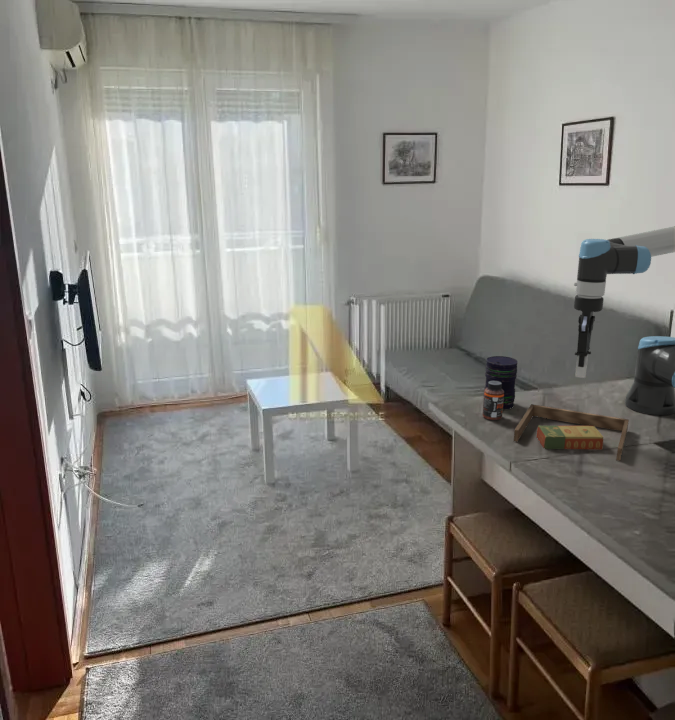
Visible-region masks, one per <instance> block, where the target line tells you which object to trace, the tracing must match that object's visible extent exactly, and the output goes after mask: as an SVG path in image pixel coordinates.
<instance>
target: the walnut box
mask: <svg viewBox="0 0 675 720" xmlns="http://www.w3.org/2000/svg"><path fill="white" fill-rule="evenodd" d="M532 416H533V417H534V416H538V417H537V418H540V417H543V418H542V419H546V418H547V420H554V421H559V422H565V423H571V424H577V425H581V426H594V427H595V428H596V427H597V428H602V429H607V430H612V431H613V430H614V431H619V432H621V434H620V438H619V442H618V446H617V452H616V459H615V460H616V461H618V462H620V461H621V459H622V456H623V451H624V447H625V442H626V438H627V435H628V434H627V433H628V428H629V421H630V419H628V418H627V419H626V418H621V417H615V416H608V415H604V414H603V415H602V414H595V413H589V412H583V411H577V410H571V409H563V408H557V407H552V406H551V407H550V406H545V405H544V406H543V405H539V404H533V403H532V404H530V405H529V407H528V408H527V410H526V412H525V413H524V415H523V417H522V418H521V419H520V421H519V423H517V425H516V426H515V429H514V433H513V442H514V441H516V442H515V443H518V442H517V441H519V440H520V438H521V437H522V435H523V433H524V432H525V430H526V429H527V427H528V426H529V424H530V422H531V421H532V419H533V417H532ZM531 418H532V419H531ZM528 423H529V424H528ZM526 426H527V427H526ZM523 431H524V432H523ZM520 436H521V437H520ZM621 455H622V456H621Z"/></svg>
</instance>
